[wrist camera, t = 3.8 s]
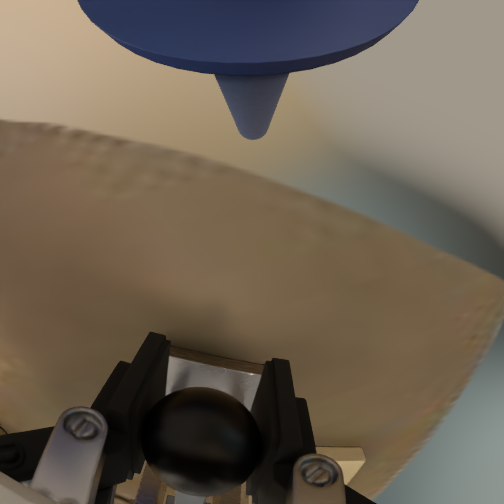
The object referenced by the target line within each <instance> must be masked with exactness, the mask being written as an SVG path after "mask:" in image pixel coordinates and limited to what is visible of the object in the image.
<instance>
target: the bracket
mask: <svg viewBox="0 0 504 504" xmlns="http://www.w3.org/2000/svg"><path fill="white" fill-rule="evenodd" d="M263 368H264V365H261V364H255V363H249V362H244V361H238V360H233V359H228V358H223V357H218V356H213V355H208V354H204V353H199V352H195V351H190V350H186V349H182V348H178V347H173V346H170V355H169V364H168V374H167V385H166V395H168V394H170V393H172V392H174V391H176V390H180V389H184V388H188V387H208V388H213V389H217V390H220V391H223V392H225V393H227V394H229V395H231V396H233V397H234V398H236V399H237V400H239V401H240V402H241V403H242V404H243V405H244V406H245V407H246V408H247V409H248V410H249V411H250V410H251V407H252V404H253V400H254V397H255V394H256V391H257V388H258V385H259V381H260V378H261V375H262V372H263ZM166 488H167V485H166V484H165V483H163V482H162V481H161V480H160V479H159V478H158V477H157V476H156V475H155V474H154V473H153V471H152V470H151V468H150V467H149V465H148V464H147V463H146V466H145V469H144V472H143V475H142V479H141V482H140V485H139V488H138V492H137V495H136V498H135V500H133V499H131V500H130V502H129V504H163V501H164V496H165V492H166ZM213 504H241V485H240V486H238V487H237V488H235V489H233V490H231V491H229V492H227V493H224V494H221V495H217V496H213Z"/></svg>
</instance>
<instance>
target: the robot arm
mask: <svg viewBox="0 0 504 504" xmlns="http://www.w3.org/2000/svg"><path fill="white" fill-rule="evenodd" d="M170 346H171V341H169V340H166V336H165V335H162V334H158V333H154V332H149V334H148V336H147V337H146V339H145V341H144V342H143V344H142V346H141V347H140V349H139V351H138V352H137V354H136V356H135V358H134V359H133V361H132V363H127V362H124V361H120V362H119V363H118V364H117V366H116V367H115V369H114V370H113V372H112V374H111V375H110V377H109V378H108V380H107V381H106V383H105V385H104V386H103V388H102V390H101V391H100V393H99V394H98V396H97V398H96V399H95V401H94V403H93V404H92V406H91V408H89V407H82V406H80V407H73V408H69V409H67V410H66V411H64V412H63V413H62V414H61V415H60V417H59V419H58V421H57V423H56V425H55V426H53V427H48V428H42V429H37V430H31V431H25V432H18V433H12V434H4V435H0V504H113V503H114V498H115V493H116V487H117V484H120V483H123V482H125V481H126V479H130V480H132V479H133V476H134V473H138V474H140V473H141V470H142V467H143V464H144V461H145V457H144V453H143V450H142V443H141V435H142V428H143V424H144V421H145V419H146V417H147V415H148V413H149V412H150V410H151V409H152V407H153V406H154V405H155V404H156V403H157V402H158V401H159V400H160V399H162V398H163V397H165V396H166V385H167V374H168V364H169V355H170ZM250 413H251V414H252V416H253V417H254V419H255V421H256V423H257V425H258V428H259V431H260V435H261V454H260V458H259V461H258V464H257V466H256V468H255V470H254V471H253V473H252V474H251V475H250V477H249V478H248V479H247V480H246V495H250V496H252V504H376V503H374V502H373V501H371V500H369V499H368V498H366V497H364V496H363V495H361V494H359V493H358V492H356V491H355V490H353V489H351V488H350V487H348V486H347V485H345V484H344V477H343V472H342V468H341V467H340V465H339V464H338V463H337V462H336V461H335V460H333V459H332V458H330V457H328V456H326V455H322V454H317V452H316V447H315V442H314V436H313V431H312V426H311V422H310V417H309V412H308V407H307V402H306V400H305V399H304V398H297V397H295V393H294V387H293V381H292V375H291V369H290V363H289V360H284V359H278V358H272V360H271V361H266V362H265V365H264V368H263V372H262V375H261V378H260V381H259V385H258V388H257V391H256V394H255V397H254V400H253V404H252V407H251V410H250Z"/></svg>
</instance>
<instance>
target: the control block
mask: <svg viewBox="0 0 504 504" xmlns="http://www.w3.org/2000/svg"><path fill="white" fill-rule="evenodd" d="M316 452H317V454H322V455H326V456H328V457H330V458H332V459H333V460H335V461H336V462H337V463H338V464H339V465H340V467H341V468H342V472H343V477H344V484H345V485H347V484H348V483H349V481H350V480H351V479H352V478H353V476H354V475H355V474H356V473H357V471H358V470H359V469H360V468H361V466H362V465H363V464H364V462H365V461H366V459H365V456H364V453H363V450H362V448H361V447H316ZM249 504H252V496H250V495H249Z"/></svg>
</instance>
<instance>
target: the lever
mask: <svg viewBox="0 0 504 504" xmlns="http://www.w3.org/2000/svg"><path fill="white" fill-rule="evenodd" d="M141 443H142V450H143V453H144V457H145V459H146V461H147V464H148V465H149V467H150V468H151V470H152V471H153V473H154V474H155V475H156V476H157V477H158V478H159V479H160V480H161V481H162V482H163V483H165V484H166V485H167V486H169V487H171V488H173V489H174V490H175V496H171V495H167V500H166V504H210V503H207V502H205V501H206V498H207V497H209V496H217V495H221V494H224V493H227V492H229V491H231V490H233V489H235V488H237V487H238V486H240V485H241V484H243V483H244V482H245V481H246V480H247V479H248V478H249V477H250V475H251V474H252V473H253V471H254V470H255V468H256V466H257V464H258V461H259V458H260V454H261V435H260V431H259V428H258V425H257V423H256V421H255V419H254V417H253V416H252V414H251V413H250V411H249V410H248V409H247V408H246V407H245V406H244V405H243V404H242V403H241V402H240V401H239V400H237V399H236V398H234V397H233V396H231V395H229V394H227V393H225V392H223V391H220V390H217V389H213V388H208V387H188V388H184V389H180V390H176V391H174V392H172V393H170V394H168V395H166V396H165V397H163V398H162V399H160V400H159V401H158V402H157V403H156V404H155V405H154V406H153V407H152V409H151V410H150V412H149V413H148V415H147V417H146V419H145V421H144V424H143V428H142V435H141Z"/></svg>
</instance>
